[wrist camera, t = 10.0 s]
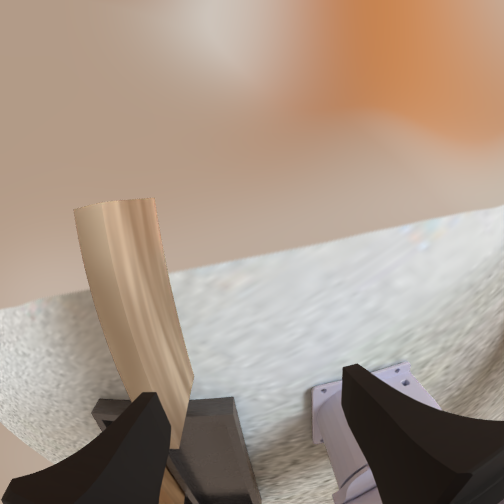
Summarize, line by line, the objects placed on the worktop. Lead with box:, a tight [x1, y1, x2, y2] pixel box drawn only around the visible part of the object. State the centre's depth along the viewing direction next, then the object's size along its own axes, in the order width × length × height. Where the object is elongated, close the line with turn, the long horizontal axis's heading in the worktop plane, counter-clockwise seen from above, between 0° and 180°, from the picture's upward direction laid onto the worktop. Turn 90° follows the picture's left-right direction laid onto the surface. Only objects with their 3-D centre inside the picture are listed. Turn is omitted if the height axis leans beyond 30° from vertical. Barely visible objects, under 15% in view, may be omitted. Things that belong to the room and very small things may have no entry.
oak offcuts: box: [159, 465, 185, 504], centre depth 20 cm, size 3×11×6 cm, turn 8°
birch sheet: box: [74, 198, 194, 449], centre depth 16 cm, size 2×14×8 cm, turn 8°
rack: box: [91, 397, 262, 504], centre depth 22 cm, size 13×20×2 cm, turn 8°
